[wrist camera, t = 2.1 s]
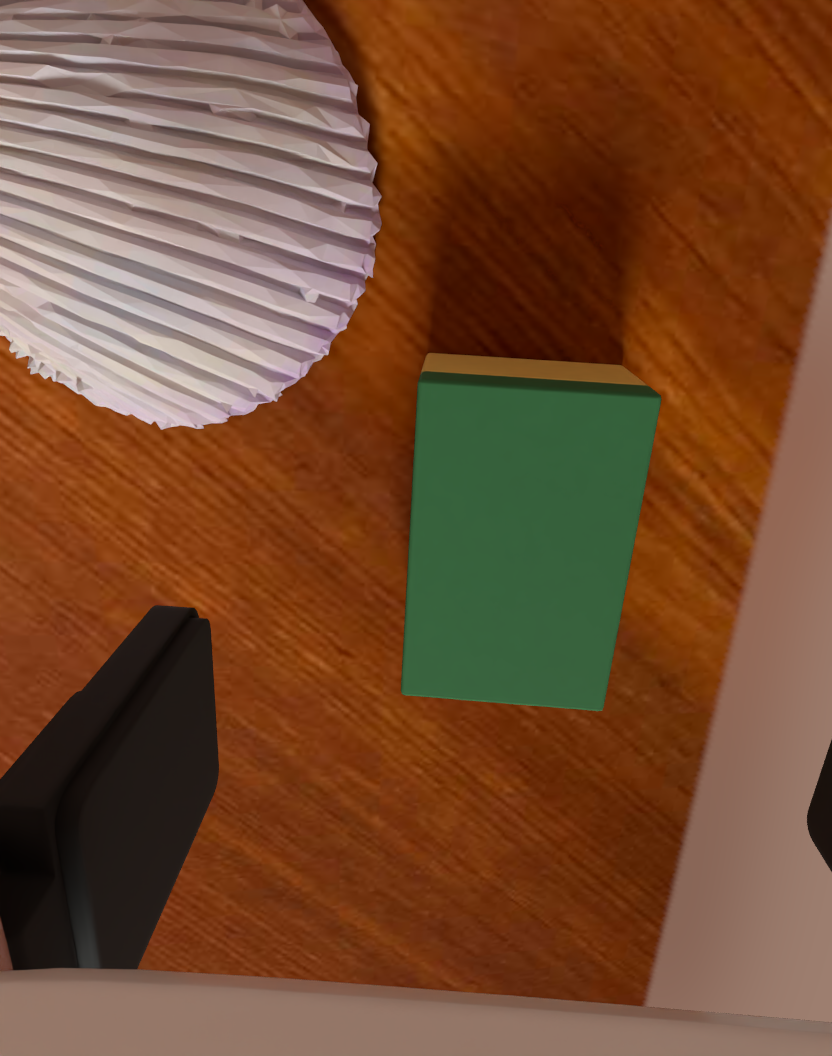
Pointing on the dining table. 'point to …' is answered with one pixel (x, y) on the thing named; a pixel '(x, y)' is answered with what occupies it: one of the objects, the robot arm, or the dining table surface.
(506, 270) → the dining table surface
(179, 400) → the seashell
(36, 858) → the robot arm
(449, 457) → the scrub sponge
